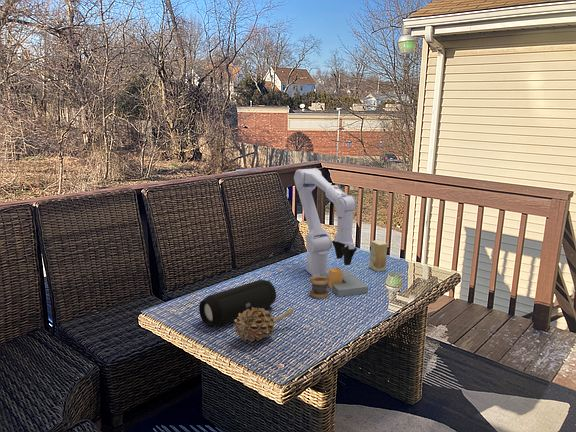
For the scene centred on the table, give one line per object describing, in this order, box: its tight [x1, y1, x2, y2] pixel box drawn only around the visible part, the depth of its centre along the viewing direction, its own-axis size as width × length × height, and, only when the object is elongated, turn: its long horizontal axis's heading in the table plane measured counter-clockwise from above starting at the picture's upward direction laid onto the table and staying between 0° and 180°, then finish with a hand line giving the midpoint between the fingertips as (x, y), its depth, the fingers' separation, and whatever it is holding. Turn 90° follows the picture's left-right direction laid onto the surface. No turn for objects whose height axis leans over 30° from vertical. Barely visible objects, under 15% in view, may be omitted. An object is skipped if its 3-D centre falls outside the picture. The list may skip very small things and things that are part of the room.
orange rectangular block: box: [327, 267, 344, 290], centre depth 176 cm, size 4×4×7 cm
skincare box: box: [369, 239, 389, 273], centre depth 195 cm, size 6×4×12 cm
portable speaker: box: [198, 279, 277, 327], centre depth 150 cm, size 26×10×10 cm, turn 133°
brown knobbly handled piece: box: [233, 307, 295, 342], centre depth 138 cm, size 22×10×10 cm, turn 134°
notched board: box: [320, 270, 369, 297], centre depth 177 cm, size 18×12×2 cm, turn 18°
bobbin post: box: [309, 276, 330, 299], centre depth 169 cm, size 7×7×6 cm
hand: (343, 261), depth 177 cm, fingers open, 7 cm apart
